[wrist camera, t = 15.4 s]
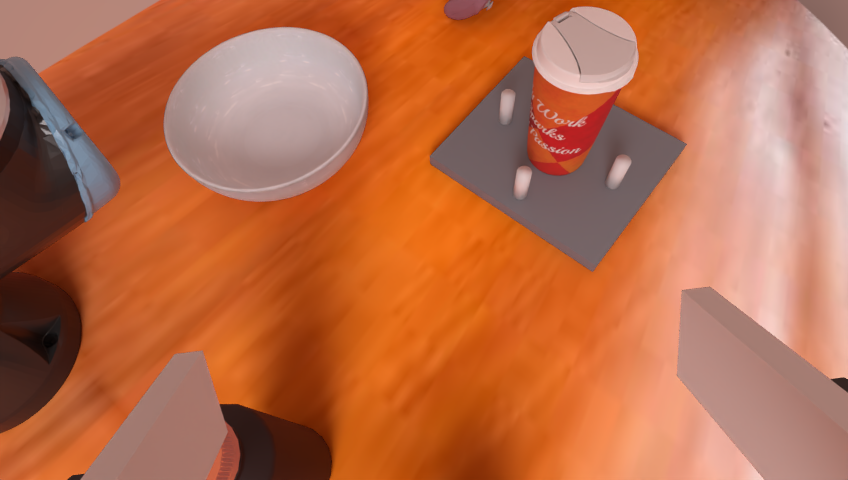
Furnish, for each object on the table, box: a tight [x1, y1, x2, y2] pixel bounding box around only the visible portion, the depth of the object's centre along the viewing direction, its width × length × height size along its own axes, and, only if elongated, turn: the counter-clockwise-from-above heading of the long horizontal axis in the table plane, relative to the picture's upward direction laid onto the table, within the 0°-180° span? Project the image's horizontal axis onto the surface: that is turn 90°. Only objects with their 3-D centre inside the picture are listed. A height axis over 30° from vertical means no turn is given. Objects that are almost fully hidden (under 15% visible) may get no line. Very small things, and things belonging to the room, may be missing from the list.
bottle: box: [206, 404, 332, 480], centre depth 35 cm, size 7×7×20 cm
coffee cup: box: [527, 7, 638, 176], centre depth 47 cm, size 8×8×15 cm
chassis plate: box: [430, 56, 687, 272], centre depth 52 cm, size 20×17×6 cm
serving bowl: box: [164, 27, 368, 202], centre depth 55 cm, size 21×21×7 cm
